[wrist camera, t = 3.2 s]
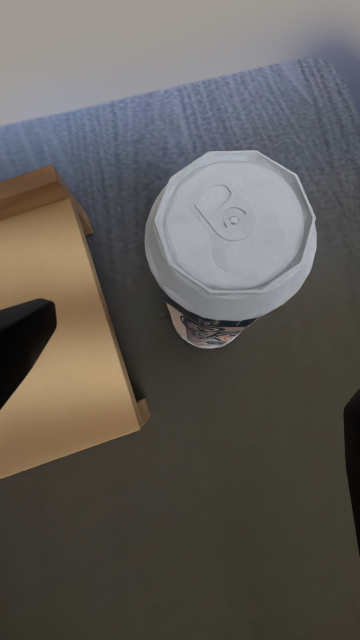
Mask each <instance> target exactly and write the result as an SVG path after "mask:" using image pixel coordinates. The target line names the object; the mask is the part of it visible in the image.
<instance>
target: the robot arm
mask: <svg viewBox="0 0 360 640" xmlns="http://www.w3.org/2000/svg"><path fill="white" fill-rule="evenodd" d="M56 327H57V317H56V307H55V303H54V302H53V301H51V300H47V299H43V298H38V299H34V300H31V301H28V302H25V303H21V304H18V305H15V306H11V307H8V308H5V309H1V310H0V410H1V409H2V407H3V406H4V405H5V404H6V402H7V401H8V400H9V398H10V397H11V396H12V394H13V393H14V392H15V391H16V389H17V388H18V387H19V385H20V384H21V383H22V382H23V380H24V379H25V378H26V376H27V375H28V374H29V372H30V371H31V369H32V368H33V366H34V365H35V363H36V361H37V360H38V358H39V357H40V355H41V353H42V352H43V350H44V348H45V347H46V345H47V343H48V342H49V340H50V338H51V337H52V335H53V333H54V332H55V330H56ZM344 439H345V461H346V471H347V478H348V484H349V491H350V497H351V503H352V510H353V516H354V523H355V529H356V536H357V542H358V549H359V555H360V389H359V390H358V391H357V392H356V393H355V395H354V396H353V397H352V398H351V399H350V401H349V402H348V403H347V404H346V406H345V408H344Z"/></svg>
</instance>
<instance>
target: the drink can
mask: <svg viewBox="0 0 360 640" xmlns="http://www.w3.org/2000/svg"><path fill="white" fill-rule="evenodd" d="M315 219H316V217H315V215H314V213H313V210H312V208H311V206H310V203H309V201H308V199H307V196H306V194H305V192H304V190H303V187H302V185H301V183H300V180H299V178H298V176H297V175H296V174H295V173H293V172H291V171H290V170H288V169H286V168H285V167H283V166H281V165H280V164H278V163H276V162H275V161H273V160H271V159H270V158H268V157H266V156H265V155H263V154H261V153H260V152H258V151H256V150H255V151H214V152H207V153H206V154H204V155H203V156H201V157H200V158H198V159H197V160H195V161H194V162H193V163H191V164H190V165H188V166H187V167H185V168H184V169H182V170H181V171H179V172H178V173H176V174H175V175H173V176H172V177H170V179H169V182H168V184H167V185H166V186H165V187H164V188H163V190H162V191H161V192H160V194H159V195H158V197H157V199H156V200H155V202H154V204H153V206H152V208H151V211H150V214H149V217H148V220H147V223H146V227H145V252H146V257H147V260H148V263H149V266H150V270H151V272H152V274H153V275H154V277H155V279H156V281H157V283H158V284H159V286H160V289H161V291H162V294H163V296H164V299H165V301H166V304H167V307H168V309H169V312H170V314H171V318H172V322H173V325H174V327H175V329H176V331H177V333H178V334H179V335H180V336H181V337H182V338H183V339H184V340H186V341H187V342H188V343H190V344H192V345H194V346H196V347H200V348H217V347H222V346H224V345H226V344H227V343H229V342H231V341H232V340H233V339H234V338H236V337H237V336H238V335H239V334H240V333H241V332H242V331H243V330H245V329H246V328H247V327H248V326H250V325H251V324H252V323H254V322H255V321H256V320H258V319H259V318H260V317H262V316H263V315H265V314H267V313H269V312H270V311H272V310H274V309H276V308H277V307H279V306H281V305H282V304H284V303H285V302H286V301H287V300H289V299H290V298H291V297H292V296H293V295H294V294H295V293H296V292H297V291H298V290H299V289H300V287H301V286H302V284H303V282H304V281H305V279H306V277H307V276H308V274H309V273H310V270H311V268H312V263H313V259H314V255H315V251H316V236H317V233H316V228H315V223H314V222H315Z"/></svg>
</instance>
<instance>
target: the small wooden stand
mask: <svg viewBox="0 0 360 640" xmlns="http://www.w3.org/2000/svg"><path fill="white" fill-rule="evenodd" d="M92 233H93V229H92V226H91V223H90V220H89V217H88V216H87V214H86V213H85V212H84V210H83V209H82V207H81V206H80V204H79V203H78V201H77V200H76V198H75V197H74V195H73V194H72V192H71V191H70V189H69V188H68V187H67V185H66V184H65V182H64V181H63V179H62V178H61V176H60V175H59V173H58V172H57V170H56V169H55V167H54V166H53V165H49V166H46V167H43V168H40V169H37V170H34V171H31V172H28V173H25V174H22V175H19V176H16V177H13V178H10V179H7V180H4V181H1V182H0V310H1V309H5V308H8V307H11V306H15V305H18V304H21V303H25V302H28V301H31V300H34V299H38V298H43V299H47V300H51V301H53V302H54V303H55V307H56V317H57V327H56V330H55V332H54V333H53V335H52V337H51V338H50V340H49V342H48V343H47V345H46V347H45V348H44V350H43V352H42V353H41V355H40V357H39V358H38V360H37V361H36V363H35V365H34V366H33V368H32V369H31V371H30V372H29V374H28V375H27V376H26V378H25V379H24V380H23V382H22V383H21V384H20V385H19V387H18V388H17V389H16V391H15V392H14V393H13V394H12V396H11V397H10V398H9V400H8V401H7V402H6V404H5V405H4V406H3V407H2V409H1V410H0V479H2V478H4V477H7V476H10V475H13V474H16V473H19V472H21V471H24V470H27V469H30V468H33V467H36V466H38V465H41V464H44V463H47V462H50V461H53V460H55V459H58V458H61V457H64V456H67V455H70V454H72V453H75V452H78V451H81V450H84V449H87V448H89V447H92V446H95V445H98V444H101V443H104V442H106V441H109V440H112V439H115V438H118V437H121V436H123V435H126V434H129V433H132V432H135V431H138V430H140V429H141V428H142V427H143V425H144V424H145V423H146V422H147V421H148V420H149V418H150V417H151V414H150V411H149V407H148V404H147V401H146V398H143V399H140V400H137V401H136V399H135V396H134V393H133V390H132V386H131V383H130V380H129V377H128V374H127V370H126V367H125V364H124V361H123V357H122V354H121V351H120V348H119V344H118V341H117V338H116V335H115V331H114V328H113V325H112V322H111V318H110V315H109V312H108V309H107V305H106V302H105V299H104V296H103V292H102V289H101V286H100V283H99V279H98V276H97V273H96V270H95V266H94V263H93V260H92V257H91V253H90V250H89V247H88V244H87V240H86V237H85V236H86V235H89V234H92Z"/></svg>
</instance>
